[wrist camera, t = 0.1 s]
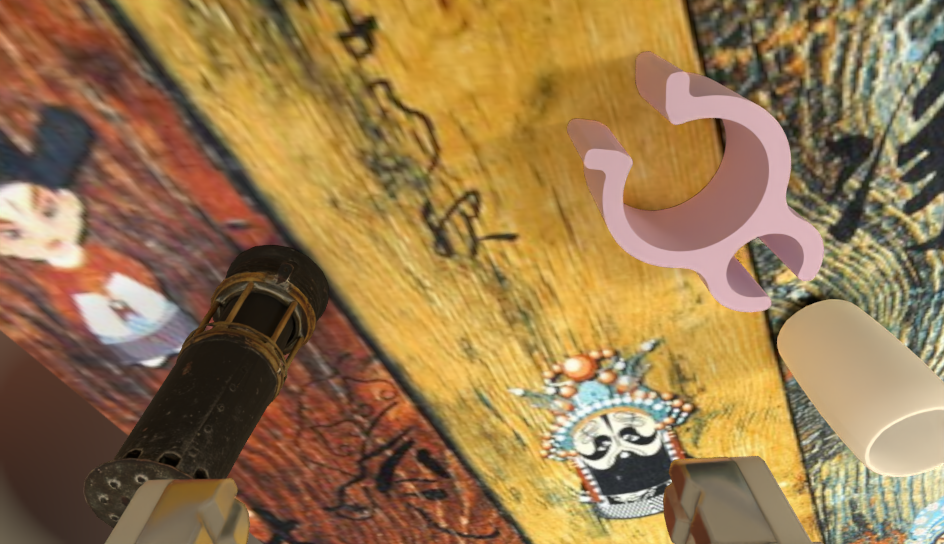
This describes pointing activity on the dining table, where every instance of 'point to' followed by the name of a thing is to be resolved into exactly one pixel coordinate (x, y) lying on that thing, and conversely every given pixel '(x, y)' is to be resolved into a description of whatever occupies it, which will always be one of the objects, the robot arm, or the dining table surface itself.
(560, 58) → the dining table surface
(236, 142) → the dining table surface
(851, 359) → the cup
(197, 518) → the robot arm
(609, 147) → the clip
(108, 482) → the lantern
